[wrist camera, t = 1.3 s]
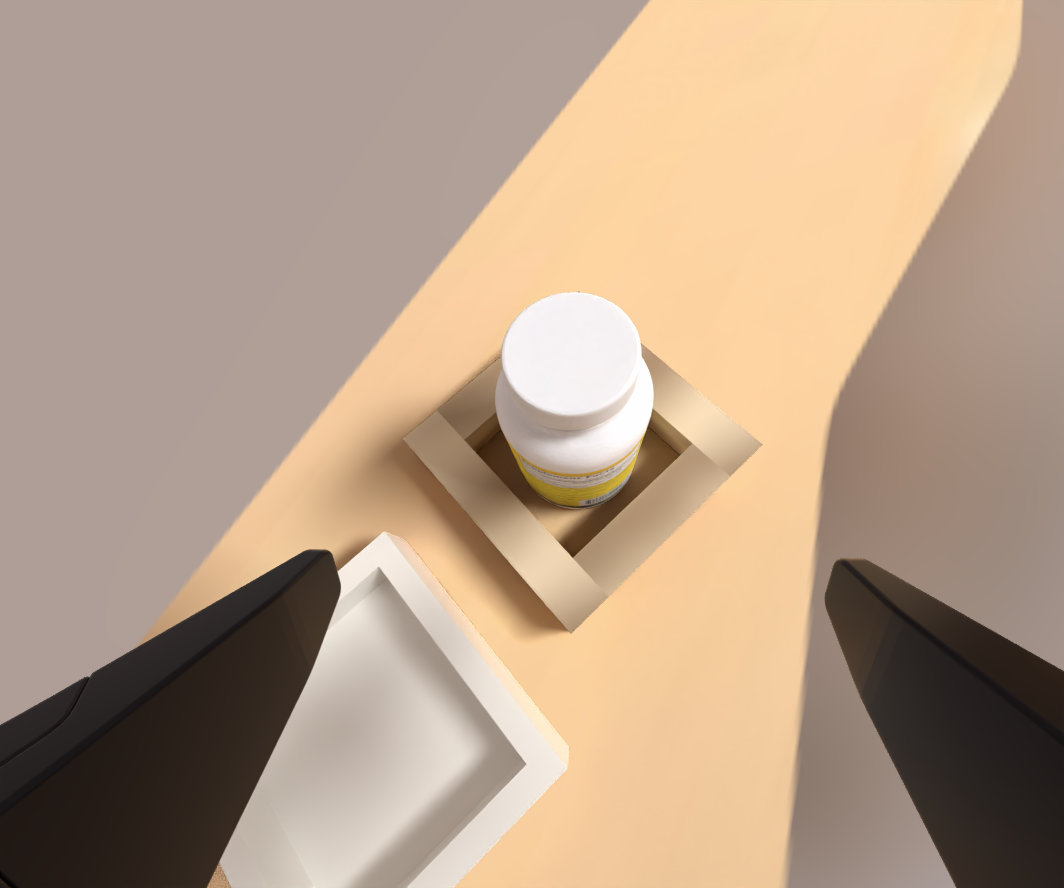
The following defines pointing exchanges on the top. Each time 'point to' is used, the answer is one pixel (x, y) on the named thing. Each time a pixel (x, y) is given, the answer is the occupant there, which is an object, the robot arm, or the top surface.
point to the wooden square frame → (632, 535)
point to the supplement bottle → (574, 398)
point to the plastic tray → (395, 745)
